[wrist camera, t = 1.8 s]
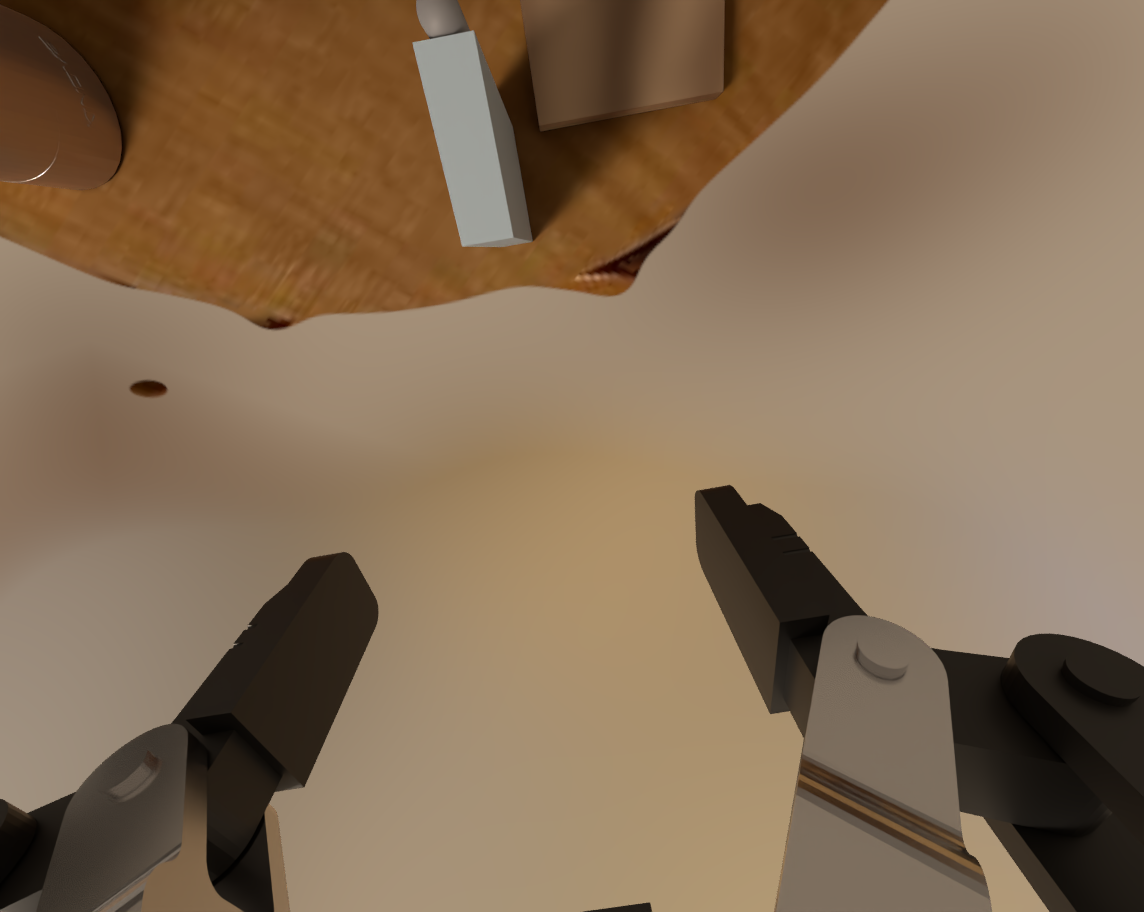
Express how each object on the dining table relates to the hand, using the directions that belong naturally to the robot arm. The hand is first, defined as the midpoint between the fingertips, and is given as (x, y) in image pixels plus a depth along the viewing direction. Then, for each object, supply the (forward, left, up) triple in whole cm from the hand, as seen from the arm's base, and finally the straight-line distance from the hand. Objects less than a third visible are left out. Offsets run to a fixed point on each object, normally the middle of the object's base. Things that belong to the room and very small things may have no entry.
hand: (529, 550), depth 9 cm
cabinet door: (-2, +10, -28) cm, 30 cm away
